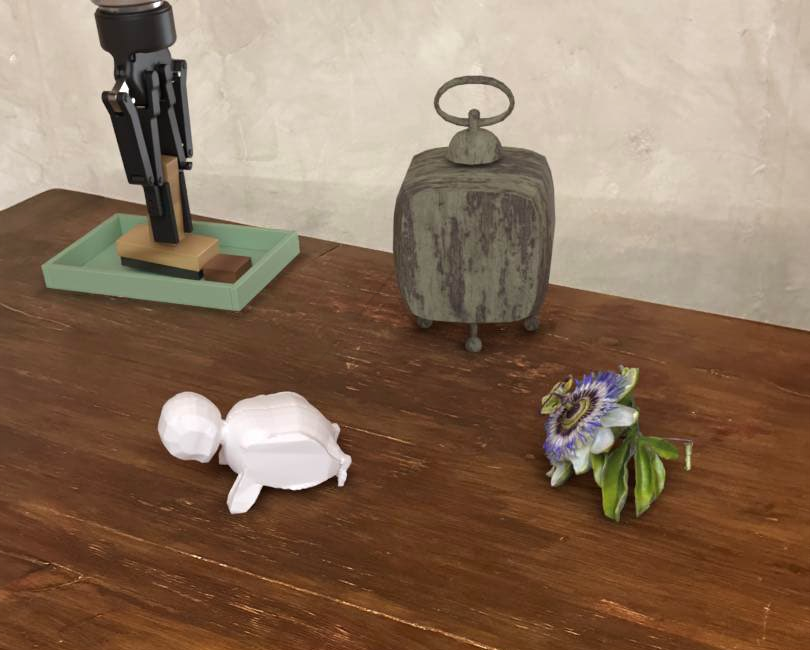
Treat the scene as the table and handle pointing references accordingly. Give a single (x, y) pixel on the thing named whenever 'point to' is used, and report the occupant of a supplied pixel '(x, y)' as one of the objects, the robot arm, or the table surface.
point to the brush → (167, 257)
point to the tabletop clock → (475, 227)
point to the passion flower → (605, 439)
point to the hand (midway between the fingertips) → (173, 235)
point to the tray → (103, 274)
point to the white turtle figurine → (256, 442)
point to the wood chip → (226, 268)
